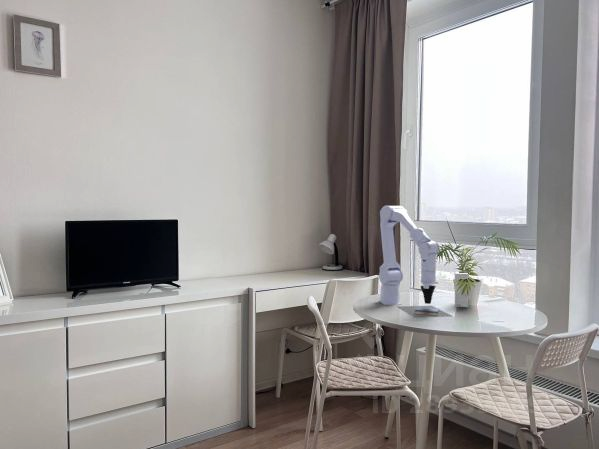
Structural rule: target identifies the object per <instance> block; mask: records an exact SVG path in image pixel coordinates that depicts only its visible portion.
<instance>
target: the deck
mask: <svg viewBox="0 0 599 449" xmlns="http://www.w3.org/2000/svg"><path fill="white" fill-rule="evenodd" d="M439 309H440V308H437V307H435V308H426V307H416V309H415V314H425V315H437V316H438V314H439Z"/></svg>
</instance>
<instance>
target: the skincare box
mask: <svg viewBox="0 0 599 449" xmlns="http://www.w3.org/2000/svg"><path fill="white" fill-rule="evenodd" d="M459 272H460V271H455V273H454V307H458V308H459V307H461V308H469V306H470V305H469V306H468V296H467V297H465V296H463V295H461V294H460V293H459V292H458V291H457V289H458V288H457V285H455V284H456V281H457V280H459V279H468V277H469V278H470V273H469V274H468V273H459ZM456 288H457V289H456ZM455 289H456V291H455Z"/></svg>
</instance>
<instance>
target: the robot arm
mask: <svg viewBox="0 0 599 449" xmlns="http://www.w3.org/2000/svg"><path fill="white" fill-rule="evenodd" d="M379 216H380V217H379V219H380V224H379V226H380V235H381V237H380V239H381V246H382V256H383V263H382V265H380V266H379V273H378V279H379V281H380V283H381V286H380V299H378V302H379V303H380V304H382V305H385V306H388V305H389V306H390V305H391V306H394V305H399V306H401V305H402V303H401V302H400V300H399V299H400V284H401V282H402V280H403V278H404V274H403V271H402V268H401V267H402V266H401V265H400V264H399V263H398V262H397V256H396V255H397V254H396V248H395V236H394V226H395V225H396V224H397V223H400V224H401V225H402V226H403V227H404V228H406V230H407V231H408V232H409V237H410V238H411V239H412V241H413V242H414V244H415V245H416V246H417V247H418V250H417V251H418V253H419V254H420V260H421V263H420V264H421V265H420V266H421V267H420V268H421V270H420V284H422V285H420V290H421V291H422V294H423V295H422V296H423V300H424V304H426V305H427V304H428V305H431V303H432V299H433V296H434V291H435V289H436V288H437V287H436V284H439V280H438V281H437V280H436V277H437V275H436V272H437V270H436V268H437V263H436V262H437V254H438V253H439V252H440V246H439V243H438V242H437V241H436V240H433V239H432V238H430V237H429V236H428V235H427V233H426V232H425V230H424V228H421V227H417V225H416V224H415V223H414V222H413V220H412V219H411V218H410V216H409V214H408V210H406V209H405V207H404V206H403V205H387V204H386V205H384V206H383V207H382V208H381V209H380V210H379Z"/></svg>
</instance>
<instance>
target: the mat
mask: <svg viewBox="0 0 599 449" xmlns="http://www.w3.org/2000/svg"><path fill="white" fill-rule="evenodd" d="M396 307H397V308H398V309H400V310H401V311H403V312H404V313H407V314H408V315H409V316H411V317H413V318H442V317H443V318H444V317H445V318H446V317H453V315H451V314H450V313H447V312H445V311H444V310H442V309H440V308H438V309H439V314H438V316H437V315H425V314H415V309H416V307H426V308H436V307H435V306H434V305H408V306H407V305H406V306H405V305H402V306H401V305H399V306H396Z"/></svg>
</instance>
